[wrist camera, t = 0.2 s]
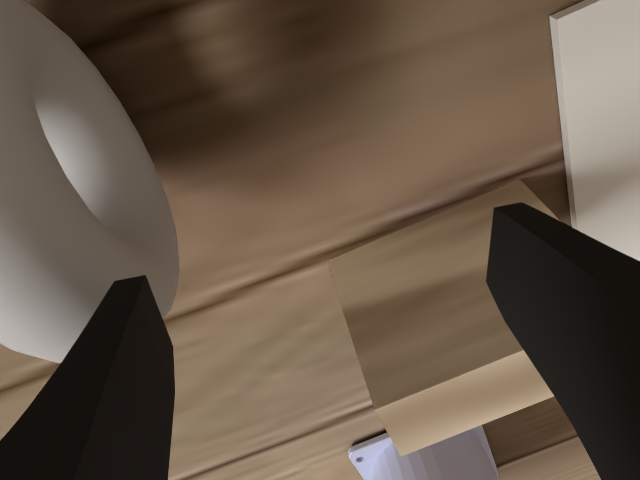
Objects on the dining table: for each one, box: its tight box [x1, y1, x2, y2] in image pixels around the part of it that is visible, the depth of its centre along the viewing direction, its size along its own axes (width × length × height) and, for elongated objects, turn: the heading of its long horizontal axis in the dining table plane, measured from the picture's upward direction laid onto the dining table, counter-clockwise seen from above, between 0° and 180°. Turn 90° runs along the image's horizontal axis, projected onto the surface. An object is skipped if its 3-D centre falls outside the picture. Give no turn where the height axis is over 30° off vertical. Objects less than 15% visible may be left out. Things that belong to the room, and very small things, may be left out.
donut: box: [0, 0, 179, 363], centre depth 14 cm, size 10×4×10 cm, turn 20°
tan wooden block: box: [327, 179, 560, 456], centre depth 22 cm, size 4×9×8 cm, turn 111°
